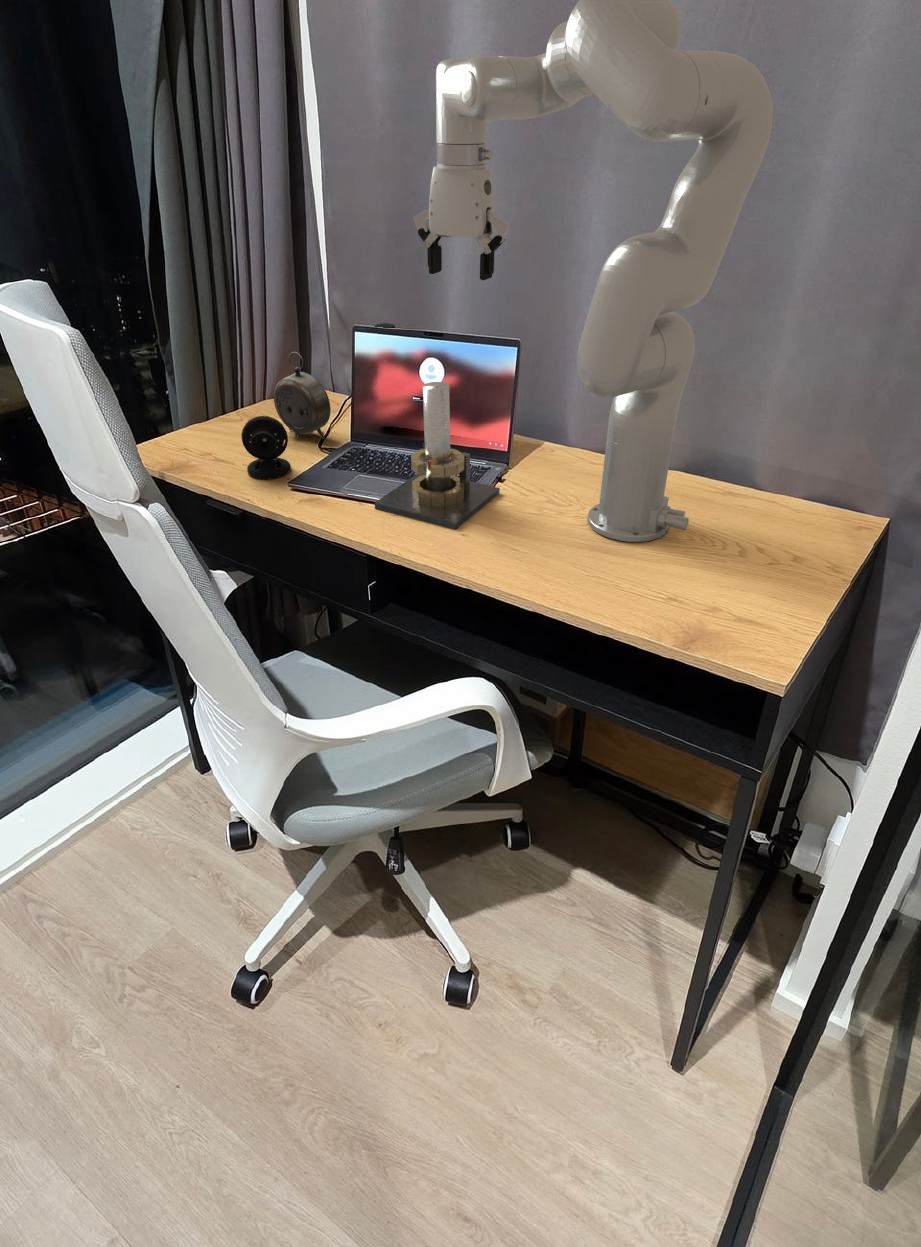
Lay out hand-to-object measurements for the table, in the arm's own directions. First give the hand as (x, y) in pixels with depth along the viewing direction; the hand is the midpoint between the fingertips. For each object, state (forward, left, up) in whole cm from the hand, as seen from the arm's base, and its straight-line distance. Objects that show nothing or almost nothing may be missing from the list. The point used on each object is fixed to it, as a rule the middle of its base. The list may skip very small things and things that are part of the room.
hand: (460, 275), depth 132 cm
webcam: (+24, +26, -31) cm, 47 cm away
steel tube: (-8, +22, -29) cm, 37 cm away
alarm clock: (+29, +10, -31) cm, 43 cm away
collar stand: (-8, +22, -30) cm, 38 cm away
